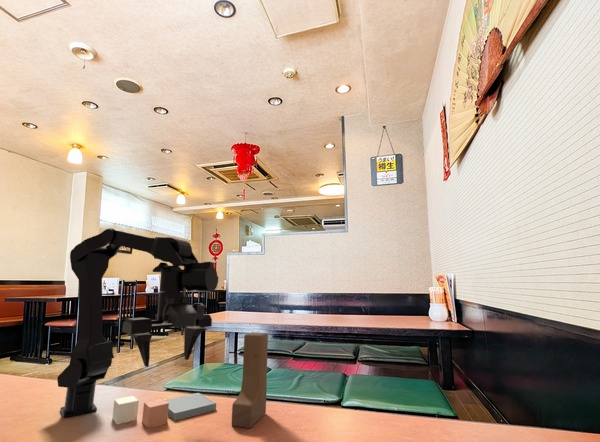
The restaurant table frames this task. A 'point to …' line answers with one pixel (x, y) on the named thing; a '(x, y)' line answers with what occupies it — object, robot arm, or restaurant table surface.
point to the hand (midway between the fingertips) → (167, 363)
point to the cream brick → (125, 409)
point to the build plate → (189, 406)
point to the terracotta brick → (155, 412)
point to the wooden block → (252, 382)
